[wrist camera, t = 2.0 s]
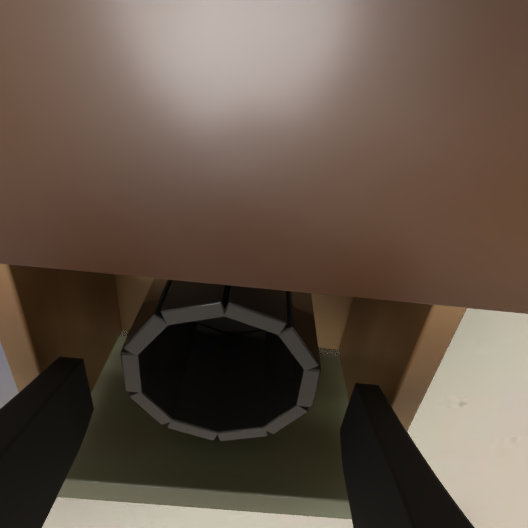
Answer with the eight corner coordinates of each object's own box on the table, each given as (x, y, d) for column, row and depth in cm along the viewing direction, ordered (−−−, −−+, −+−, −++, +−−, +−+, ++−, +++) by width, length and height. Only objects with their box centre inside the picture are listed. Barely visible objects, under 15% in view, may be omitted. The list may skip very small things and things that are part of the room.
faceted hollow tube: (318, 322, 16) (332, 430, 12) (188, 341, 17) (159, 449, 13) (295, 203, 13) (304, 288, 9) (141, 232, 14) (83, 323, 10)
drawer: (337, 426, 22) (359, 573, 16) (113, 407, 21) (53, 551, 15) (450, 76, 12) (609, 127, 6) (49, 29, 12) (-167, 40, 6)
